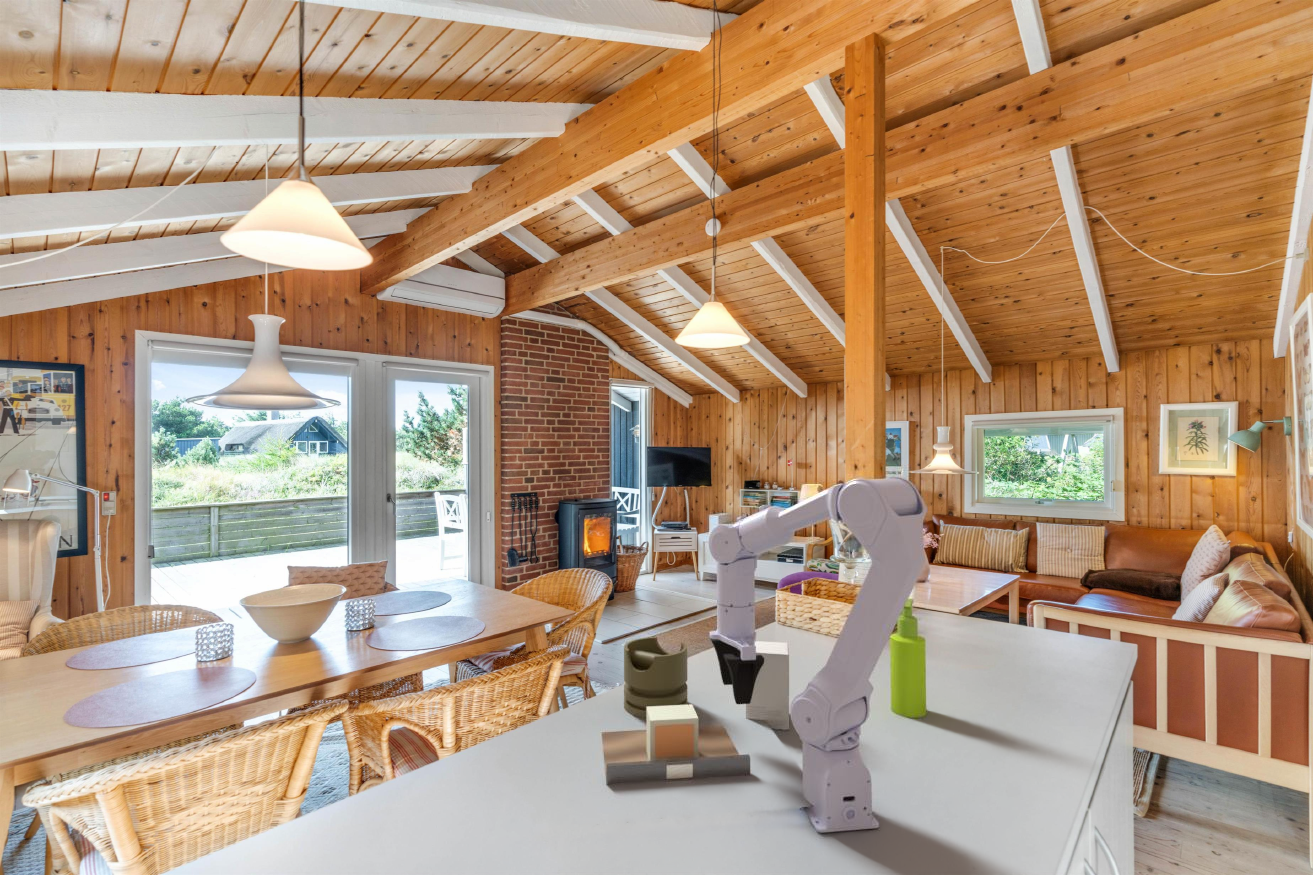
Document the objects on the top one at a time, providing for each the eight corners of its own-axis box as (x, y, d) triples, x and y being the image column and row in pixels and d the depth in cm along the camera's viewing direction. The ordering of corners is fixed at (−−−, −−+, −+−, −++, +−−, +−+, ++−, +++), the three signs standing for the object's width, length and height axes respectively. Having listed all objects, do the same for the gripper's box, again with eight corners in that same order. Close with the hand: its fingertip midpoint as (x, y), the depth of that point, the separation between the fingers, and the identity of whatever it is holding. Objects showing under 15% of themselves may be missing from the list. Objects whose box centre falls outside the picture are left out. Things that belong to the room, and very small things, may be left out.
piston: (646, 633, 118) (698, 643, 112) (646, 697, 118) (698, 710, 112) (611, 649, 109) (666, 660, 103) (611, 718, 109) (666, 733, 103)
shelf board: (750, 785, 86) (750, 774, 86) (606, 795, 84) (606, 784, 84) (723, 734, 102) (723, 725, 102) (601, 741, 100) (601, 732, 100)
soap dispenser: (888, 715, 110) (886, 601, 110) (893, 702, 116) (891, 594, 116) (924, 722, 107) (922, 605, 107) (927, 708, 113) (926, 597, 113)
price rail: (750, 775, 86) (750, 757, 86) (606, 785, 84) (606, 766, 84) (748, 771, 87) (748, 754, 87) (606, 781, 85) (606, 763, 85)
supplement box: (789, 731, 103) (789, 654, 104) (744, 727, 105) (744, 651, 105) (789, 713, 111) (788, 641, 111) (747, 709, 112) (747, 639, 113)
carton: (646, 750, 94) (646, 706, 94) (692, 747, 94) (692, 704, 95) (650, 767, 88) (650, 721, 89) (698, 764, 89) (698, 718, 89)
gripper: (700, 593, 101) (700, 677, 101) (721, 615, 87) (721, 714, 86) (742, 591, 102) (743, 675, 102) (769, 614, 88) (770, 711, 87)
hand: (736, 693), depth 94 cm, fingers open, 7 cm apart
